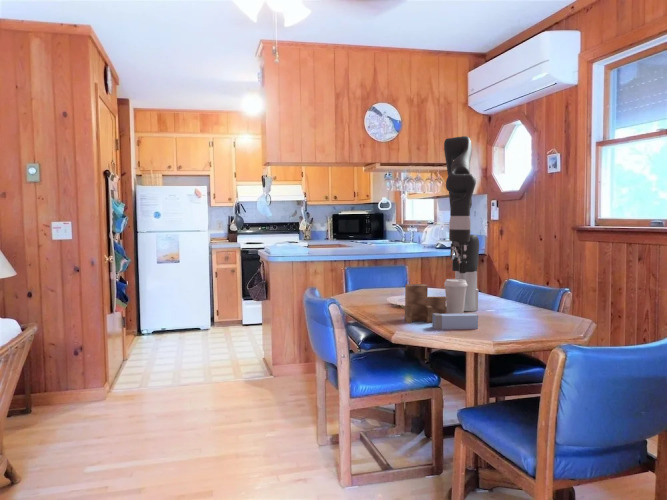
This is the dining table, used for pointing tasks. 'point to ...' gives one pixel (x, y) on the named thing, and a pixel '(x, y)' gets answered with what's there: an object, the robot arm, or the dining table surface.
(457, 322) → the grey rectangular bar
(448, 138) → the robot arm
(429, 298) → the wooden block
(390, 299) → the dining table surface
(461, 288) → the coffee cup
